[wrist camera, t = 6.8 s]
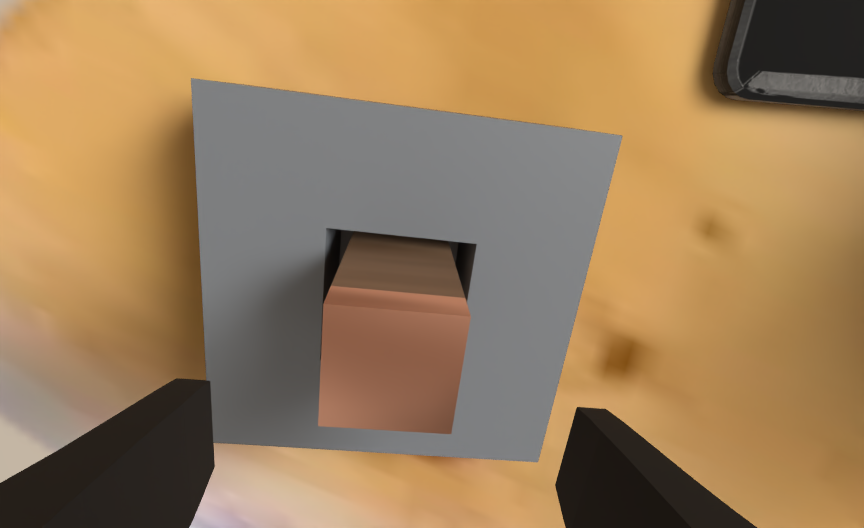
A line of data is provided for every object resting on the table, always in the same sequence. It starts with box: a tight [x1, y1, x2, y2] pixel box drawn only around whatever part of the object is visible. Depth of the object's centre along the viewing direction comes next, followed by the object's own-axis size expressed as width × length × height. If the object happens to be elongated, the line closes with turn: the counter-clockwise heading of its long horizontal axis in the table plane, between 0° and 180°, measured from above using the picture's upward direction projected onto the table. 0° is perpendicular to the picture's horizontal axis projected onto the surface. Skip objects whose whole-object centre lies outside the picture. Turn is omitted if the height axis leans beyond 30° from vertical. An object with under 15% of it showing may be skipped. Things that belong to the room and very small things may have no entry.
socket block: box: [191, 78, 622, 462], centre depth 16 cm, size 12×12×4 cm
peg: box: [318, 231, 471, 434], centre depth 14 cm, size 3×3×8 cm
